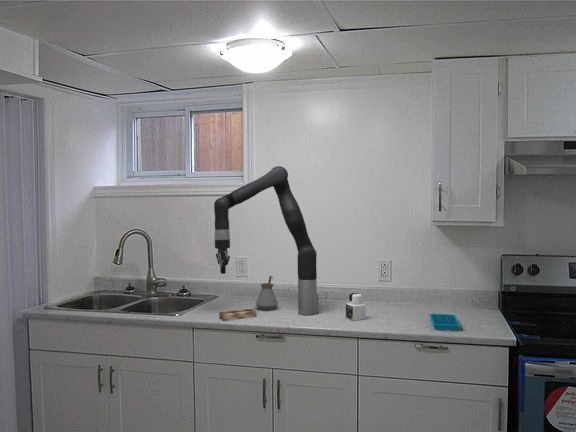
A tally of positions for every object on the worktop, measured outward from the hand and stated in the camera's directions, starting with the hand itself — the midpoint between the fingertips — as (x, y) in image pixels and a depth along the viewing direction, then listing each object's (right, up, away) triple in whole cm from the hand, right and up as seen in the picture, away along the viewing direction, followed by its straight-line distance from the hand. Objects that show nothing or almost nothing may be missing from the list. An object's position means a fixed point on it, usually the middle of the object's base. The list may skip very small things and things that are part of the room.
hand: (223, 273), depth 258 cm
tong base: (+9, -21, -6) cm, 23 cm away
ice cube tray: (+102, -22, -22) cm, 107 cm away
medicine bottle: (+64, -21, -9) cm, 68 cm away
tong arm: (+7, -20, -4) cm, 22 cm away
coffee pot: (+22, -20, +18) cm, 34 cm away
